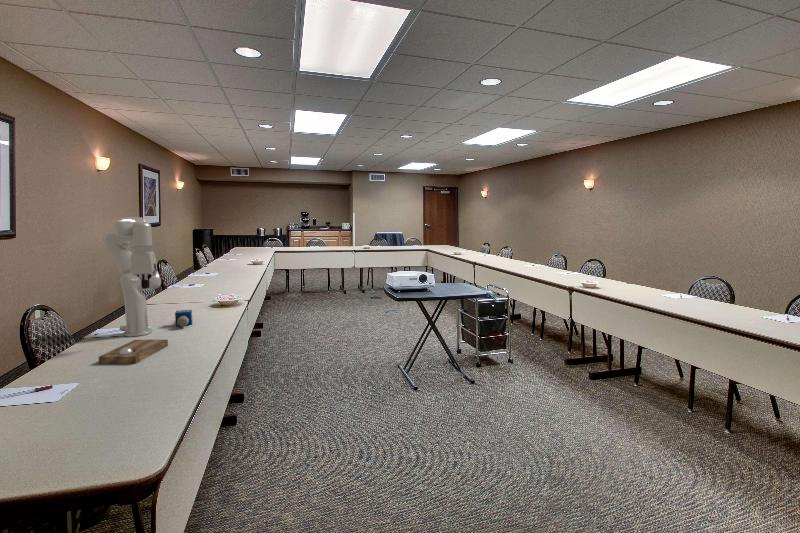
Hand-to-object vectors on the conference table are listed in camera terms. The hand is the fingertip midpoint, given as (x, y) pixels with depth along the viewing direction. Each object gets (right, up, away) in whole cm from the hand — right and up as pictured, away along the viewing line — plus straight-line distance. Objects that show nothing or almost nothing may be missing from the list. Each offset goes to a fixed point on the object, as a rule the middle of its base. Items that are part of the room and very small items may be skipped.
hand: (145, 288), depth 200 cm
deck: (+5, -28, -15) cm, 32 cm away
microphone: (-1, -22, +37) cm, 44 cm away
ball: (+5, -26, -22) cm, 35 cm away
